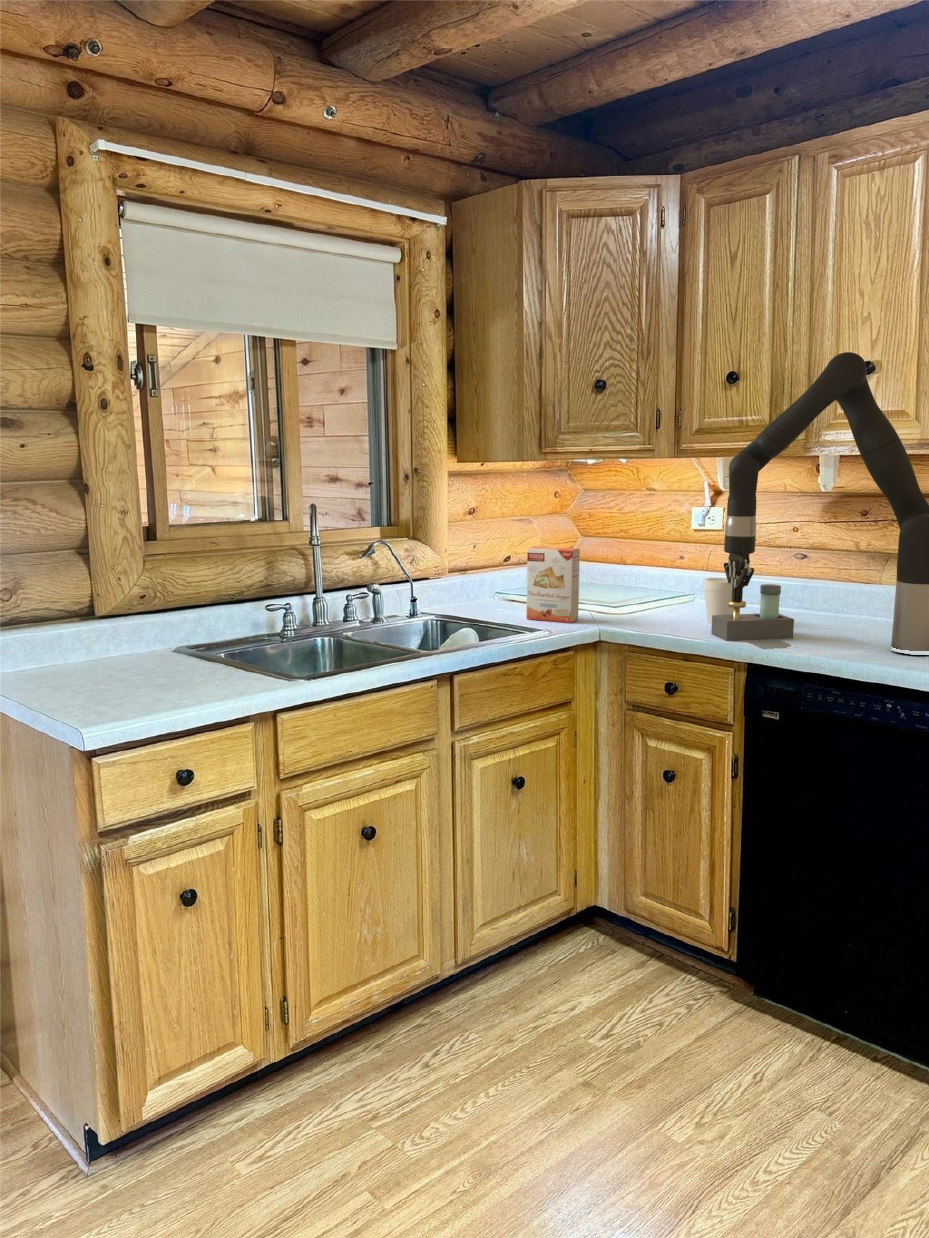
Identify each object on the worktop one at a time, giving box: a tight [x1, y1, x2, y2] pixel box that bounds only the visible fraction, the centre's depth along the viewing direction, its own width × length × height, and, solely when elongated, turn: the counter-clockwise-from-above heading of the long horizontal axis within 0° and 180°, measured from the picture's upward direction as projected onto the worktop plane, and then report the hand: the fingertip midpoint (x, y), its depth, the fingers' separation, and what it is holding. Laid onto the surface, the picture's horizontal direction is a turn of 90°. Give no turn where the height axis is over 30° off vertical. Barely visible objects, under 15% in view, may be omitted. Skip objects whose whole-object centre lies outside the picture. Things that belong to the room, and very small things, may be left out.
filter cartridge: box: [759, 583, 782, 619], centre depth 246 cm, size 5×5×13 cm
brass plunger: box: [728, 600, 747, 619], centre depth 245 cm, size 4×4×9 cm
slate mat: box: [745, 639, 792, 650], centre depth 236 cm, size 9×9×1 cm
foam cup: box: [703, 577, 733, 625], centre depth 264 cm, size 10×9×13 cm
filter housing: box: [710, 613, 795, 642], centre depth 246 cm, size 18×9×6 cm, turn 100°
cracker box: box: [526, 545, 581, 624], centre depth 273 cm, size 14×6×21 cm, turn 62°
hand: (736, 601), depth 244 cm, fingers closed
